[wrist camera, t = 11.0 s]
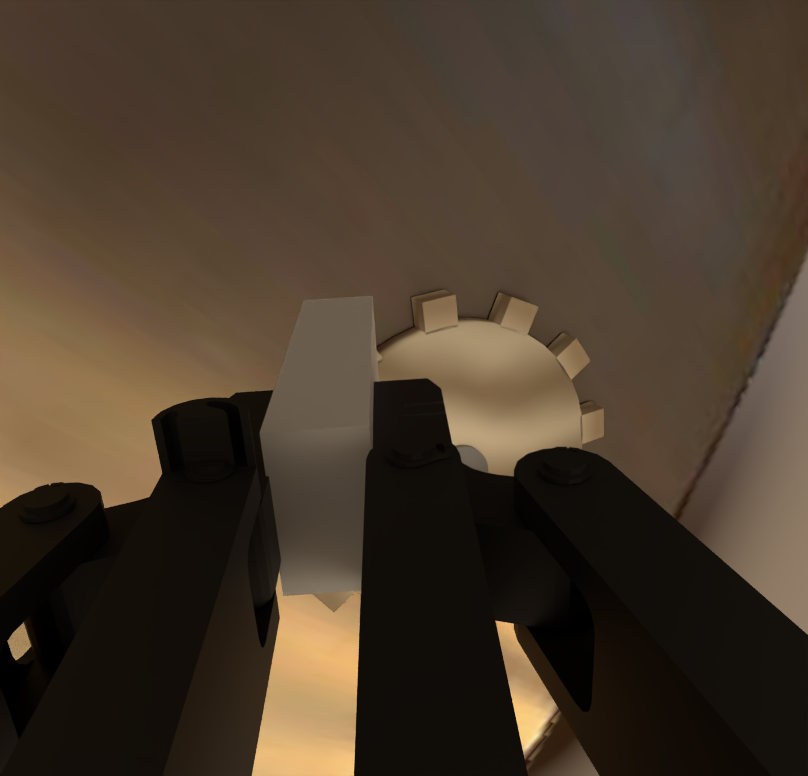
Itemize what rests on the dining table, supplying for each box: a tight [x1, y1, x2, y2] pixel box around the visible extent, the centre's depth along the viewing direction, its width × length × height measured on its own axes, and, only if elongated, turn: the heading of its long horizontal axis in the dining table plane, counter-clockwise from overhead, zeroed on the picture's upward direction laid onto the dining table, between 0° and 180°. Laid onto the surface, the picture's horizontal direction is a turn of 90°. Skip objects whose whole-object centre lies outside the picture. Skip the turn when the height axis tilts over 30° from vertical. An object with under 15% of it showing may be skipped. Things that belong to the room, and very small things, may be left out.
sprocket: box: [313, 289, 604, 612], centre depth 45 cm, size 23×23×12 cm
